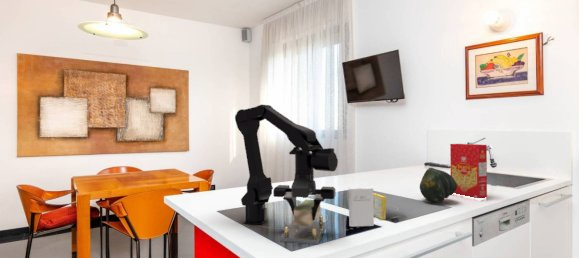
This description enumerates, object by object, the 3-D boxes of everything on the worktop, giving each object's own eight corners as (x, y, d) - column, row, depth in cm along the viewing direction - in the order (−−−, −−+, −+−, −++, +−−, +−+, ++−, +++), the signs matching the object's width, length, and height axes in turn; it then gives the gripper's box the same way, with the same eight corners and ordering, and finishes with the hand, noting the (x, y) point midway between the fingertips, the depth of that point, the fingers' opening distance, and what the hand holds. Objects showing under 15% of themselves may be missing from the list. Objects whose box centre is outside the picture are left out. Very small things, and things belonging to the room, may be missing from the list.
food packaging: (450, 195, 158) (450, 143, 158) (458, 194, 160) (458, 143, 160) (478, 201, 145) (478, 145, 145) (486, 200, 147) (486, 144, 147)
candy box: (386, 220, 116) (386, 196, 116) (381, 220, 116) (381, 197, 116) (365, 209, 132) (365, 188, 132) (360, 209, 131) (360, 189, 131)
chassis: (280, 241, 94) (280, 228, 94) (293, 223, 111) (293, 213, 111) (318, 244, 91) (318, 231, 91) (326, 225, 109) (325, 214, 109)
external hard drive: (348, 225, 110) (348, 188, 110) (372, 224, 110) (372, 187, 110) (350, 226, 108) (349, 189, 108) (374, 225, 109) (373, 188, 109)
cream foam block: (294, 225, 100) (293, 209, 100) (306, 214, 110) (305, 199, 110) (309, 226, 98) (309, 210, 98) (320, 215, 108) (319, 200, 108)
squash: (413, 202, 143) (413, 168, 143) (429, 197, 153) (429, 165, 153) (447, 208, 132) (446, 171, 132) (461, 202, 142) (461, 168, 142)
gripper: (268, 171, 96) (268, 225, 96) (331, 173, 91) (332, 229, 91) (278, 167, 107) (278, 215, 107) (335, 168, 102) (335, 218, 102)
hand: (304, 219), depth 101 cm, fingers closed on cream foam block, 5 cm apart
